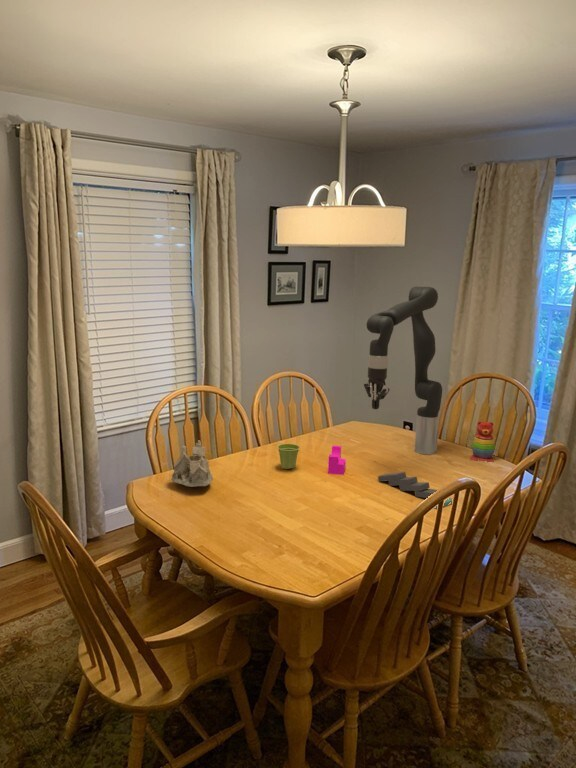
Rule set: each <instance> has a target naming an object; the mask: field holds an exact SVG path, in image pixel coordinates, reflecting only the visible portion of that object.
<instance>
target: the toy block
mask: <svg viewBox="0 0 576 768" xmlns="http://www.w3.org/2000/svg"><path fill="white" fill-rule="evenodd" d="M341 457H342V446H341V445H332V446H331V454H328V462H327V464H328V466H327V474H328V475H329V474H330V475H338V476H339V475H340V476H341V475H342V476H344V474H345V470H346V460H347V458H341Z"/></svg>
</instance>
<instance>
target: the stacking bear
mask: <svg viewBox="0 0 576 768" xmlns="http://www.w3.org/2000/svg"><path fill="white" fill-rule="evenodd" d="M476 430H477V434H476V435H475V436H474V438H473V441H472V446H471V447H472V455H470V456H469V460H470V461H472V460H474V462H485V461H487V462H486V463H488V462H494V460H495V458H494V457H493V456H494V453H495V450H496V449H495V448H496V446H495V445H496V444H495V439H494V436H493V435H492V434H493V433H494V432H493V431H494V423H493V422H491V421H490V422H488V421H478V422H477V427H476ZM478 460H479V461H478ZM494 463H495V462H494Z"/></svg>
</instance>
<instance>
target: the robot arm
mask: <svg viewBox="0 0 576 768" xmlns="http://www.w3.org/2000/svg"><path fill="white" fill-rule="evenodd" d="M438 301H439V293H438V291H437V289H435V288H434V287H432V286H413V287H411V289H409V292H408V300H407V301H402V302H400V303H398V304H394V305H393V306H392V307H389V309H387V310H383V311H380V312H377V313H374V314H372V315H370V317H369V318H368V319H367V321H366V329H367V331H369V332H370V333H371V334H378V335H379V336H378V339H373V340H370V343H369V355H368V356H369V357H368V363H367V378H368V380H367V383H364V384H363V387H364V390H365V392H366V394H367V397H368V398H370V399H371V408H372V409H373V410H378V409H379V408H380V401H381V400H384V399H385V397H386V396H387V395H388V394H389V392H390V391H391V389H390V388H389V387H387V386H386V379H387V377H388V360H389V359H388V350H389V343H390V341H391V337H392V335H393V331H394V327H395V326H397V325H399V324H401V323H402V322H403V321H405V320H407V319H408V318H410V317H411V318H410V319H411V325H412V336H413V337H412V339H413V353H414V373H415V374H414V393H415V395H416V397H417V398H418V399H421V400H424V401H426V404H425V406H420V407H418V408H417V413H416V425H415V436H414V437H415V438H414V448H413V449H414V450H413V451H414V452H415V453H417V454H419V455H429V456H430V455H434V454H436V452H437V449H438V439H439V437H438V436H439V432H438V421H439V412H440V410H441V403H442V397H443V386H442V384H441V382H439V381H435V380H431V379H429V377H428V370H429V366H430V364H431V362H432V360H433V359H434V357H435V355H436V352H437V351H436V337H435V334H434V332H433V331H432V329H431V328H430V326H429V325H428V323H427V321H426V318H425V317H424V316H425V315H424V311H428V310H431V309H432V308H434V307H435V306H436V305H437V303H438Z"/></svg>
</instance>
